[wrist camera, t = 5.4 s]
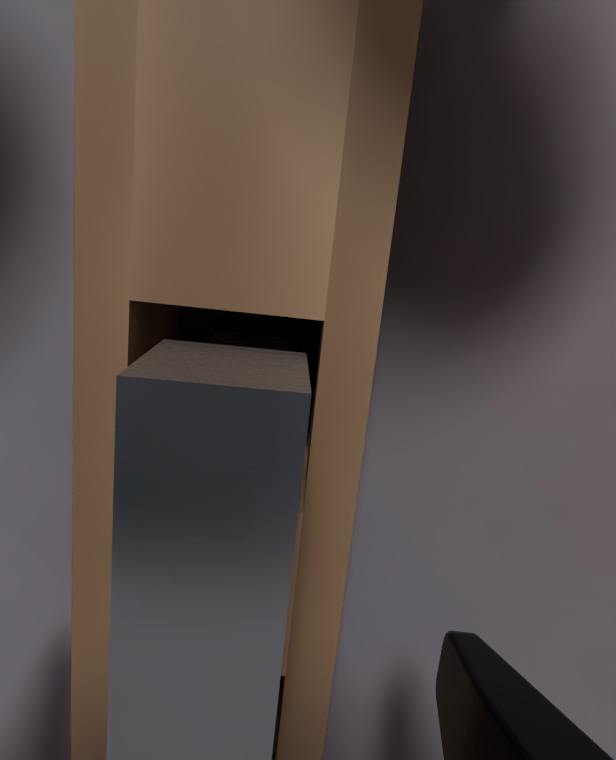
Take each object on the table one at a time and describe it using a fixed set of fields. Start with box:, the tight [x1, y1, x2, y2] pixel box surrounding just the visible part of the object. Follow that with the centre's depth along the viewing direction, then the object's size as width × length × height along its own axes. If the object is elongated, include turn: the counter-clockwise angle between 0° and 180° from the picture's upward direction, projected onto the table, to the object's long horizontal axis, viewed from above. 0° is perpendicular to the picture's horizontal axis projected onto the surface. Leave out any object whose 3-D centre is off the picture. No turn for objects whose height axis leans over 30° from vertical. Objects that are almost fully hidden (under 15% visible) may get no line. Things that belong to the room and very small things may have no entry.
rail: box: [71, 0, 423, 760], centre depth 11 cm, size 4×20×3 cm, turn 174°
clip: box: [106, 331, 311, 760], centre depth 9 cm, size 2×8×6 cm, turn 174°
